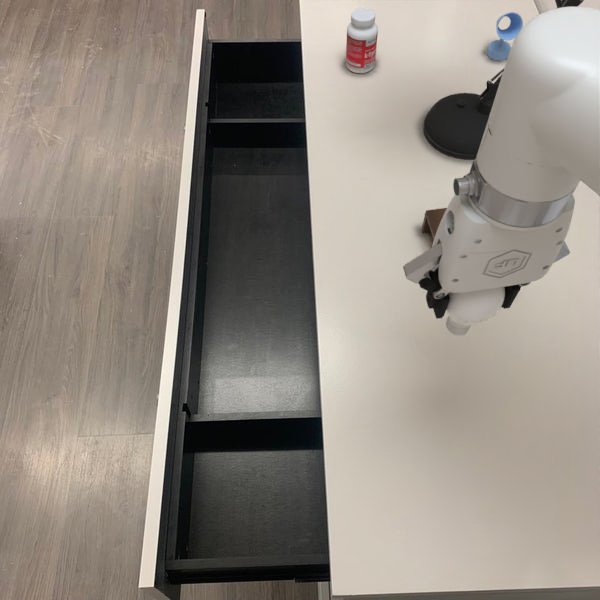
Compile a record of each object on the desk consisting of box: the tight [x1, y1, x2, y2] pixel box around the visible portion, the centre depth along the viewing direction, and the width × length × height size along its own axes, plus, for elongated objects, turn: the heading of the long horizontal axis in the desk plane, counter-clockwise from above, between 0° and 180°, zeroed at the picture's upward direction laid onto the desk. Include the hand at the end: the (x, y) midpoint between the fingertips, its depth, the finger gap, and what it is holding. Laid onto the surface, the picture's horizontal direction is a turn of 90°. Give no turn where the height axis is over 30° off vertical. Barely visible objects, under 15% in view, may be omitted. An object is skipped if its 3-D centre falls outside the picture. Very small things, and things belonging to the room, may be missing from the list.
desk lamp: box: [422, 0, 585, 160], centre depth 81 cm, size 24×26×45 cm
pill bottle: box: [345, 7, 379, 74], centre depth 107 cm, size 6×6×11 cm
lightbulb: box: [445, 287, 505, 337], centre depth 57 cm, size 6×6×11 cm
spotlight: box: [486, 11, 524, 61], centre depth 107 cm, size 5×10×7 cm
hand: (468, 301), depth 56 cm, fingers closed on lightbulb, 6 cm apart
